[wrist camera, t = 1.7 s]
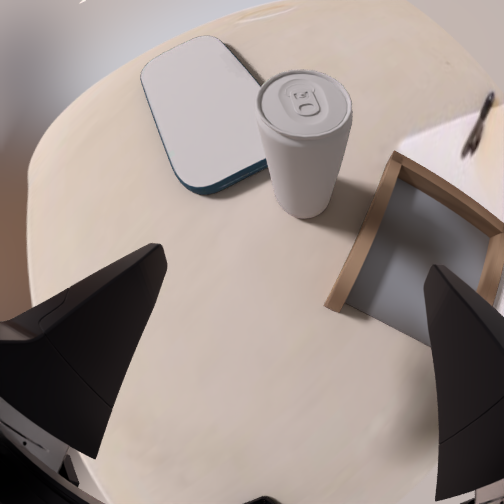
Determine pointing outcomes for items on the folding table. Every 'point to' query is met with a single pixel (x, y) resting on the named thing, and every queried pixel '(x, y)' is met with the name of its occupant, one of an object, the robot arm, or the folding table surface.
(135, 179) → the folding table surface
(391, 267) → the bay
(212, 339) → the folding table surface
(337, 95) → the beverage can
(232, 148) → the external hard drive
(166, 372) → the folding table surface
